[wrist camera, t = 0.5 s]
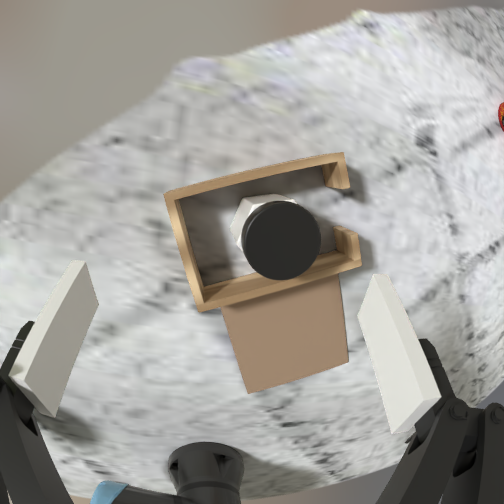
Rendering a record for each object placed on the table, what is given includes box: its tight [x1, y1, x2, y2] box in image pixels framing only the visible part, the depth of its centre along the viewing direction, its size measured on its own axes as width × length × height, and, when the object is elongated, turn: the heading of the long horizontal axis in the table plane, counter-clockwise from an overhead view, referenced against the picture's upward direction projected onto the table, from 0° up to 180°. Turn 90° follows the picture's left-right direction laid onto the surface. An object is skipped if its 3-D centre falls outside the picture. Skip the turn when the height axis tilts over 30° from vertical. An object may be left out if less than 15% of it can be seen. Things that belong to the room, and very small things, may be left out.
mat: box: [221, 273, 348, 394], centre depth 49 cm, size 18×18×1 cm
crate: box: [164, 152, 362, 312], centre depth 41 cm, size 15×22×6 cm
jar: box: [230, 194, 321, 281], centre depth 38 cm, size 9×8×12 cm
